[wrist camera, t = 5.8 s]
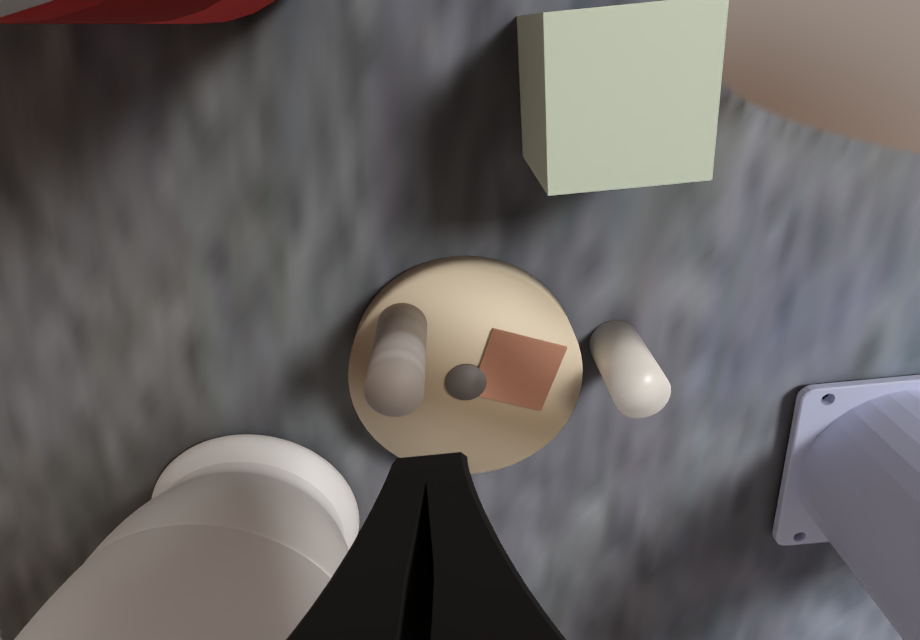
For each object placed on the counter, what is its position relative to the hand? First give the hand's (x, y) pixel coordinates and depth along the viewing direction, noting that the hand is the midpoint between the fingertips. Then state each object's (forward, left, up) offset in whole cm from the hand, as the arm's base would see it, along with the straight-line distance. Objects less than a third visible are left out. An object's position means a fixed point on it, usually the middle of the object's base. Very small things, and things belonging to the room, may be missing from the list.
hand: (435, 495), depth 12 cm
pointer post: (-6, +3, -10) cm, 12 cm away
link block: (-5, -6, -10) cm, 13 cm away
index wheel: (-1, +3, -10) cm, 11 cm away
